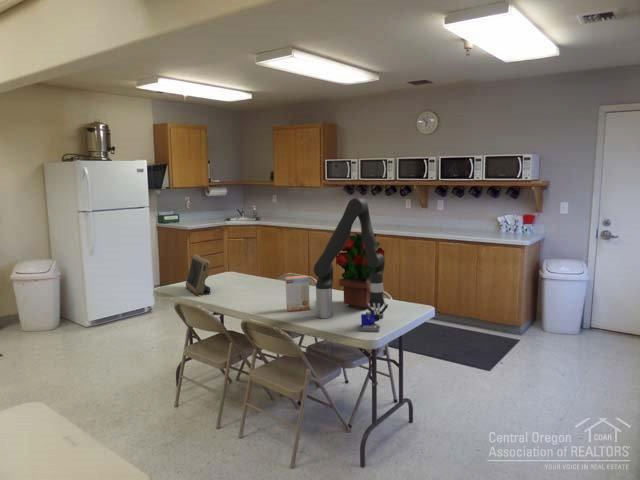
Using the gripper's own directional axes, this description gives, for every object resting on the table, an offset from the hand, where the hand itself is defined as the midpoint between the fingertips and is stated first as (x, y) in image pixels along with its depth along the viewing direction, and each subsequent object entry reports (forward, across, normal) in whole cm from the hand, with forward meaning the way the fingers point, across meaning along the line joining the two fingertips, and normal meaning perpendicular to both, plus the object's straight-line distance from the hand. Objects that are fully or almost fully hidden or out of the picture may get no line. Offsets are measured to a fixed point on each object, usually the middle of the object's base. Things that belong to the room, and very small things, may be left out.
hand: (377, 320), depth 266 cm
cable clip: (+2, -4, +1) cm, 4 cm away
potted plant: (+1, -14, +35) cm, 38 cm away
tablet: (0, -135, +57) cm, 147 cm away
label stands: (+2, -3, 0) cm, 3 cm away
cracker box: (+1, -51, +20) cm, 55 cm away
